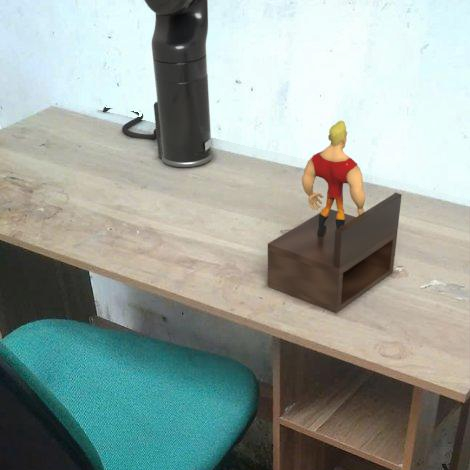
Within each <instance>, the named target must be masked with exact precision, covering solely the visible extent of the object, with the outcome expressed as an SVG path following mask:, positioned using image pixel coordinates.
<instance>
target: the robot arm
mask: <svg viewBox="0 0 470 470" xmlns="http://www.w3.org/2000/svg"><path fill="white" fill-rule="evenodd" d="M144 3H145V4H146V5H147V7H148V8H149V9H150V10H151V11H152V12H153V13H155V20H154V21H155V22H154V23H155V24H154V29H153V33H152V37H151V52H152V54H151V55H152V62H153V73H154V82H155V83H154V84H155V93H156V101H155V102H154V104H153V112H154V114H153V115H154V123H155V128H154V129H153V133H152V134H151V133H149V134H148V133H138V132H134V131H132V130H129V128H131V127H132V126H134V125H136V124H138V123H139V122H142V120H143V118H144V114H143V113H142V116H141V117H138V116H139V113H138V112H134V111H130V113H131V112H132V113H133V114H134V115H136V116H137V117H135V118H134V119H132V120H130V121H128V122H126V123H125V124H124V125H123V126H122V128H121V130H122V133H124V134H125V135H126V136H128V137H130V138H134V139H140V140H141V139H143V140H155V139H156V143H157V151H158V158H159V159H161V160H162V163H164V164H165V165H168V166H170V167H173V168H193V167H198V166H202V165H205V164H207V163H209V162H210V161H211V160H212V159H213V149H212V146H213V143H214V141H213V137H212V131H211V130H212V129H211V114H210V93H209V78H208V77H209V76H208V60H207V58H208V57H207V38H208V33H209V7H208V6H209V4H208V0H144ZM111 109H112V108H106V107H105V106H104V107H103V108H102V113H108V111H110V110H111Z"/></svg>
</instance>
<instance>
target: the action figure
mask: <svg viewBox="0 0 470 470" xmlns="http://www.w3.org/2000/svg"><path fill="white" fill-rule="evenodd" d="M328 133H329V134H328V136H327V138H328V141H329V142H330V144H329V145H328V146H327V147H325V149H323V150H321V151H319V152H317V153H314V154H313V155H312V156H311V157H310V158H309V160H307V162H306V165H305V167H304V170H303V171H304V172H303V175H302V178H301V184H302V188H303V191H304V193H305V194H306V195H307V196H308V198H307V200H308V201H307V202H308V204H309V207H310V208H311V210H312V211H318V210H319V209H320V205H322V204H323V201H321V200H320V199H323V198H324V196H323V194H322V193H319V192H314V184H315V180H316V178H317V177H318V178H320V179H323V180H324V181H325V182H326V184H327V192H326V204H325V206H324V207H323V208H322V209H321V210H320V212H321V213H320V212H319V213H320V215H319V229H318V232H317V234H318V236H323V235H324V231H325V230H326V228H327V227H326V226H325V225H324V224H325V221H326V219H327V218H328V215H329V212H330V209H332V206H333V204H334V202H335V205H336V209H337V210H336V211H338V213H337V215H336V219H335V220H336V227H337V229H338V228H340V227H341V226H343V225H344V223H345V220H344V219H345V216H344V213H345V211H344V210H345V209H344V195H343V192H344V184H346V185H349V194H350V198H351V199H352V201H353V203H354V204H355V206H356V207H357V208H356V209H357V210H356V211H357V216H359V215H361V214H362V213H364V205H365V203H366V194H365V190H364V179H363V173H362V170H361V168H360V166H358V163H357V162H356V161H355V160H354V159H353V158H352V157H350V156H348V155H347V154H346V153H345V152H344V148H345V147H346V143H347V136H348V131H347V126H346V123H345V121H344V120H339V121H337V122H336V123H334V124H333V125H332V126H331V127H330V128H329V132H328ZM319 204H320V205H319Z"/></svg>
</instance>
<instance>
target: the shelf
mask: <svg viewBox="0 0 470 470" xmlns="http://www.w3.org/2000/svg"><path fill="white" fill-rule="evenodd" d="M402 195H403V194H401V193H398V192H394V193H392V194H391V195H390V196H388V197H386V198H385V199H383V200H382V201H379V203H377V204H375V205H373V206H372V207H370V208H369V209H367V210H365V211H363V213H362V214H361V215H357V216H354V215H351V214H347V213H345V212H344V216H345V219H344V220H345V223H344V225H343V226H341V227H340V228H338V229H337V227H336V220H335V219H336V215H337V213H338V210H335V209H332V208H331V209H330V212H329V215H328V218H327V219H326V221H325V224H324V225H325V226H326V227H327V228H326V230H325V231H324V235H323V236H318V234H317V232H318V229H319V215H320V213H321V211H320V212H319V213H317V214H315V215H313V216H312V217H310V218H308V219H306V220H305V221H304V222H302V223H300V224H298V225H297V226H295V227H293V228H292V229H290V230H289V231H287V232H285V233H284V234H281V235H280V236H278V237H277V238H275V239H273V240H272V241H270V242H268V243H267V287H268V288H270V289H273V290H276V291H278V292H281V293H282V294H283V293H284V294H286V295H288V296H292V297H294V298H296V299H299V300H301V301H304V302H307V303H309V304H312V305H314V306H317V307H320V308H322V309H325V310H327V311H330V312H332V313H335V314H337V313H340V311H342V310H343V309H345V308H346V307H347V306H349V305H350V304H351V303H353V302H354V301H356V300H357V299H358V298H360V297H362V296H363V295H364V294H366V293H367V292H369V291H370V290H371V289H372V288H374V287H375V286H377V285H378V284H380V283H381V282H382V281H383V280H385V279H387V278H388V277H389V276H391V275H392V274H393V273H394V266H395V258H396V248H397V239H398V233H399V231H398V229H399V221H400V215H401V214H400V213H401V205H402V197H403V196H402Z"/></svg>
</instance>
